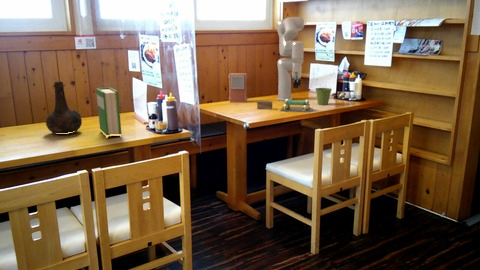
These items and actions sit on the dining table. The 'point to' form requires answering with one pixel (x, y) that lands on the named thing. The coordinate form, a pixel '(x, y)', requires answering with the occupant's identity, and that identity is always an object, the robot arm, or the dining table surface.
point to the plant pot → (323, 95)
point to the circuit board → (297, 102)
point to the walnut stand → (264, 105)
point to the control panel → (238, 87)
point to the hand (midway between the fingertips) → (296, 86)
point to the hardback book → (108, 110)
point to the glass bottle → (62, 114)
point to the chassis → (296, 108)
